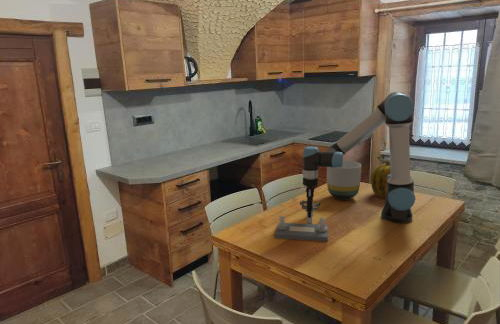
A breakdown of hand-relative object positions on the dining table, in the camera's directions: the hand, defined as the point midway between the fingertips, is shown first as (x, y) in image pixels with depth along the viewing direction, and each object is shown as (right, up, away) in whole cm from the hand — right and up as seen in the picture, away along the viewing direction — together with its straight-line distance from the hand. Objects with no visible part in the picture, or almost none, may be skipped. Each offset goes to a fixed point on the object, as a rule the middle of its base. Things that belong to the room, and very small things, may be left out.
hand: (309, 219), depth 197 cm
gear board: (-6, -4, -16) cm, 17 cm away
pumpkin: (+51, +9, +33) cm, 62 cm away
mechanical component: (0, 0, 0) cm, 0 cm away
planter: (+25, +8, +31) cm, 40 cm away
